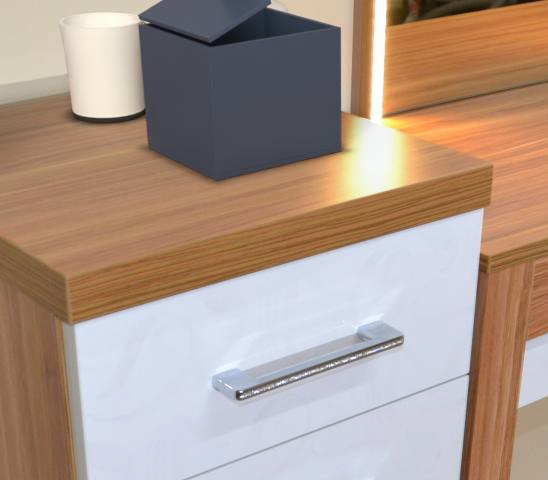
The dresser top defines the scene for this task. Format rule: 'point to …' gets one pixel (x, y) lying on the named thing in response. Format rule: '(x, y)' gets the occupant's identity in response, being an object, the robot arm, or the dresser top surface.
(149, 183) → the dresser top surface
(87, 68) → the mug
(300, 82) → the carton
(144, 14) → the flap
